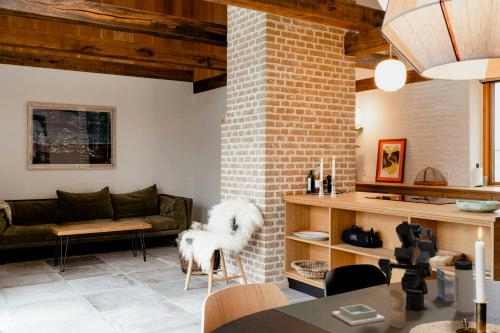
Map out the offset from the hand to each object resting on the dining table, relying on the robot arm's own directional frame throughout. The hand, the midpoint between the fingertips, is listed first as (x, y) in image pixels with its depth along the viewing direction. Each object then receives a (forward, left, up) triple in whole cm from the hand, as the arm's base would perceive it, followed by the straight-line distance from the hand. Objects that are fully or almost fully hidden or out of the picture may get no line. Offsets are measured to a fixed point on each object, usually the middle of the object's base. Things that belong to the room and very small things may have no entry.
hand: (400, 286), depth 172 cm
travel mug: (-27, +5, -13) cm, 30 cm away
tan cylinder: (+4, +2, -13) cm, 13 cm away
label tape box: (-36, -12, -13) cm, 40 cm away
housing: (+10, -12, -13) cm, 20 cm away
